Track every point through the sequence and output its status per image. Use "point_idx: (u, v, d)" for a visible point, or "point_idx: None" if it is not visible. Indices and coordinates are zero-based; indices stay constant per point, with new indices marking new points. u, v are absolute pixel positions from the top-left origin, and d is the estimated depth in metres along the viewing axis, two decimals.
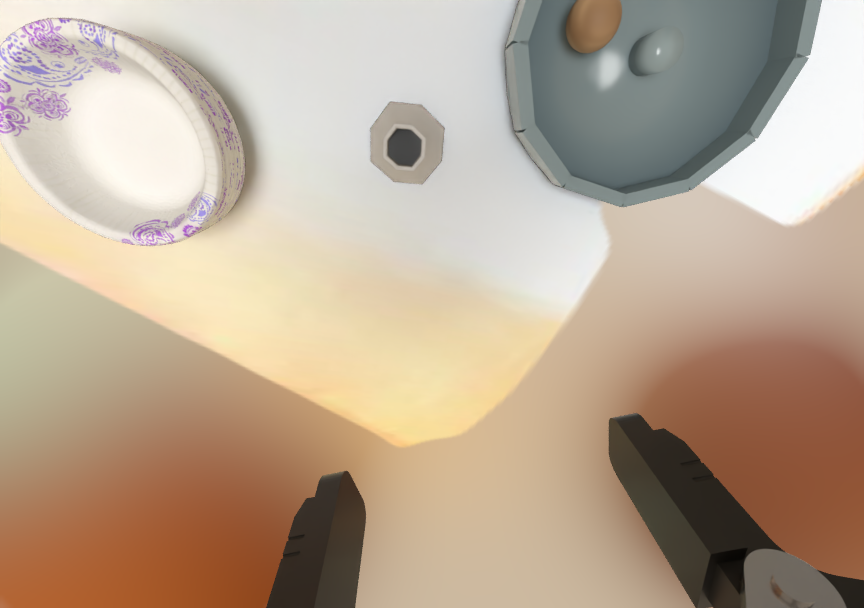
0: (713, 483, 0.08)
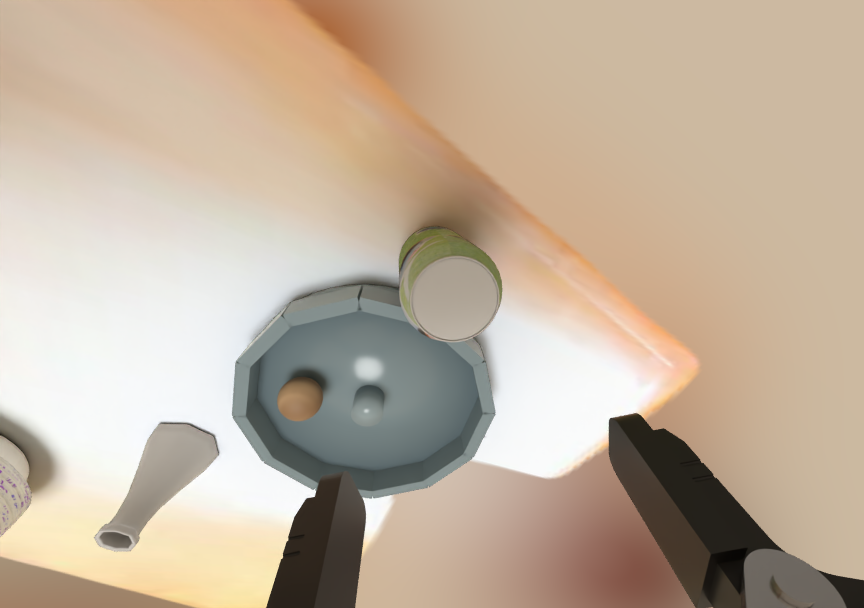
0: (713, 483, 0.08)
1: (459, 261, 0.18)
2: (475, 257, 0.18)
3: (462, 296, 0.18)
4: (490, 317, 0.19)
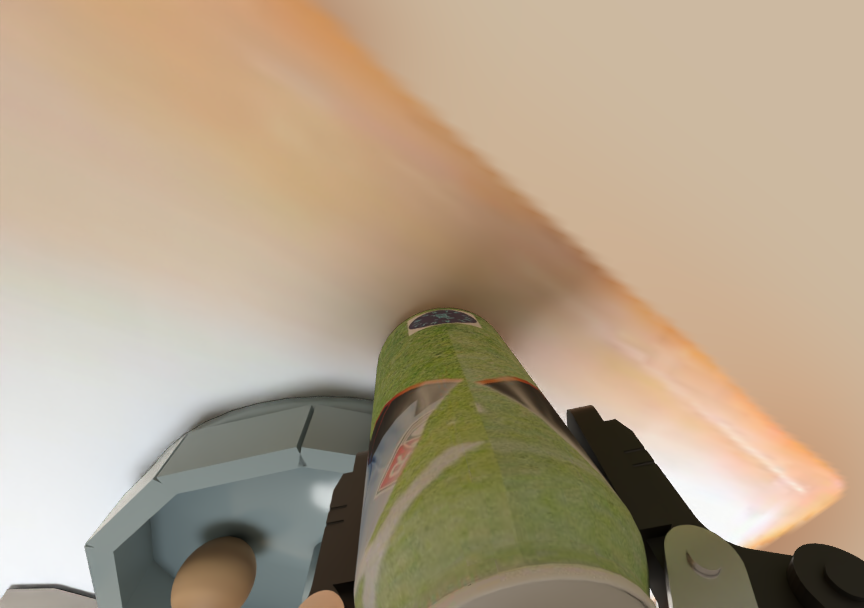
0: (653, 468, 0.08)
1: (550, 582, 0.05)
2: (595, 543, 0.06)
3: None
4: None
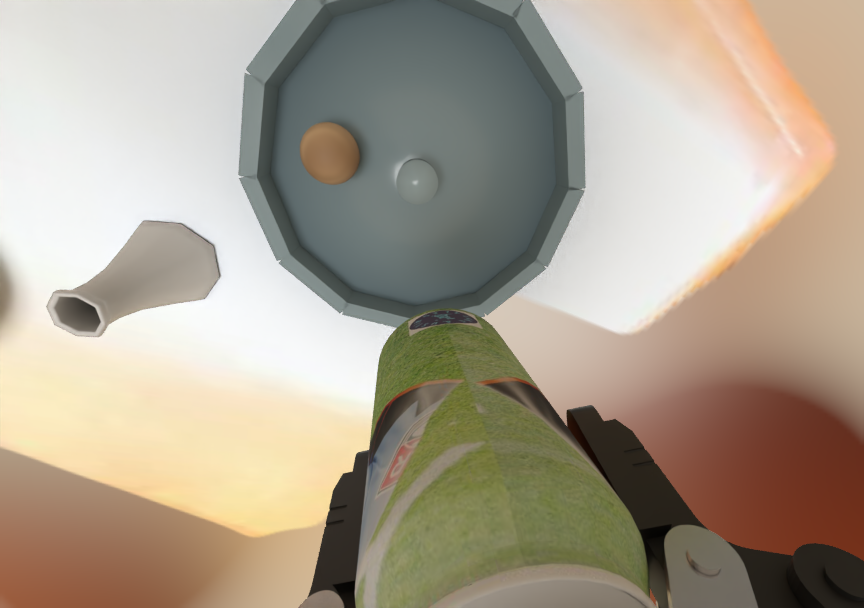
0: (652, 468, 0.08)
1: (550, 583, 0.05)
2: (595, 544, 0.06)
3: None
4: None
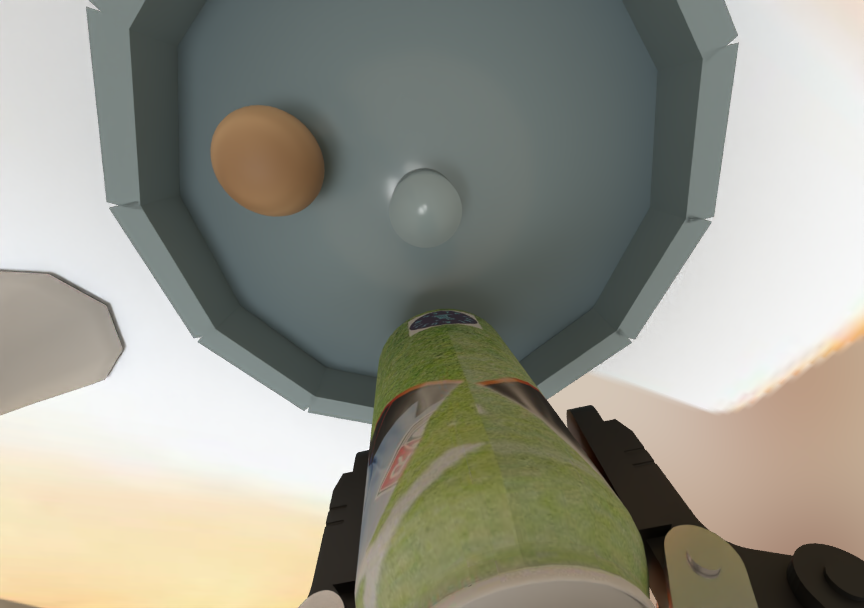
0: (653, 468, 0.08)
1: (550, 584, 0.05)
2: (595, 545, 0.06)
3: None
4: None
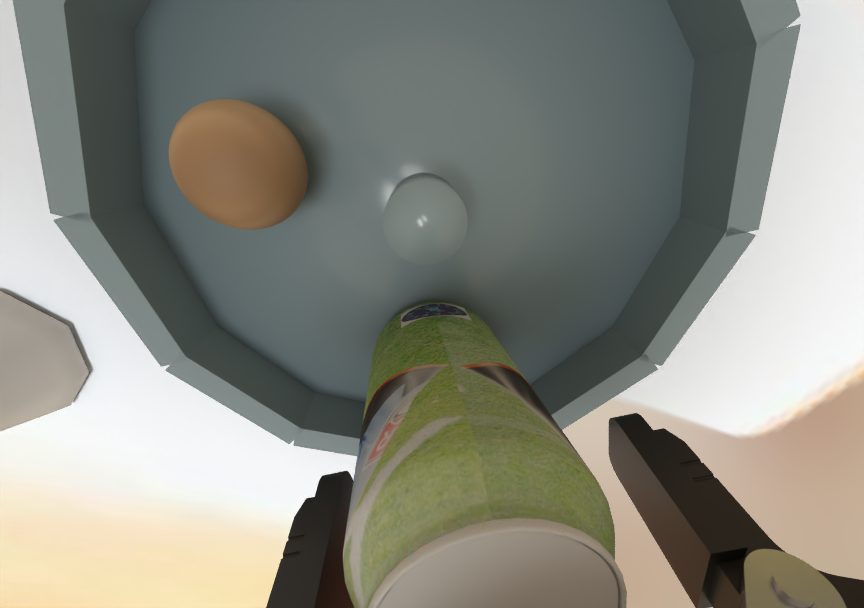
0: (713, 483, 0.08)
1: (516, 535, 0.06)
2: (559, 503, 0.06)
3: None
4: None
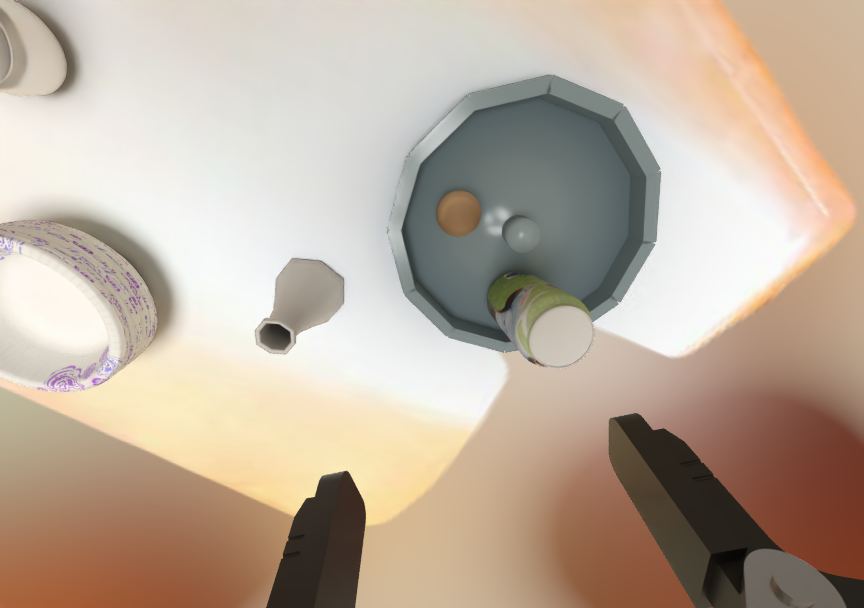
0: (713, 483, 0.08)
1: (567, 309, 0.24)
2: (577, 306, 0.25)
3: (567, 334, 0.25)
4: (586, 350, 0.25)
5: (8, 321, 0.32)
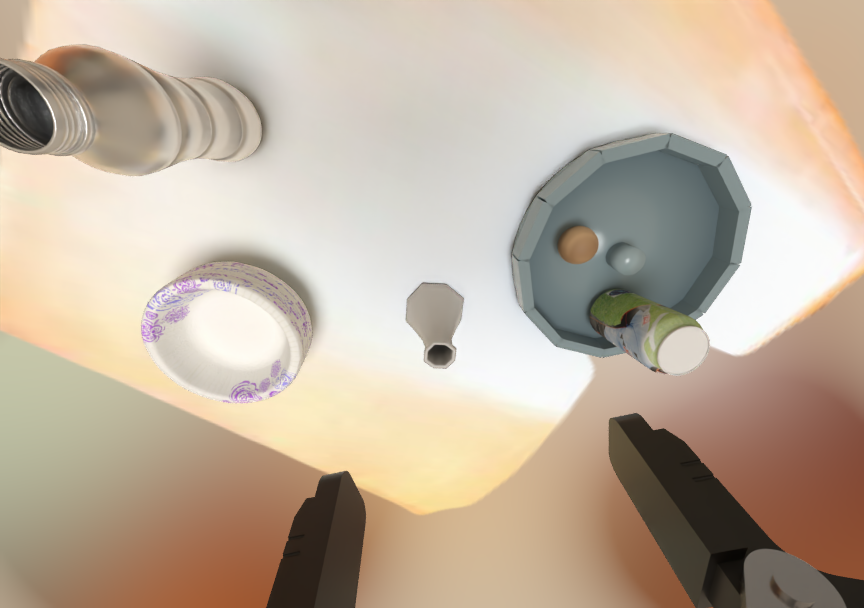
0: (713, 483, 0.08)
1: (690, 329, 0.30)
2: (696, 325, 0.31)
3: (688, 348, 0.31)
4: (701, 360, 0.31)
5: (194, 345, 0.37)
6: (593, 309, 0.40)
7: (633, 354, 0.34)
